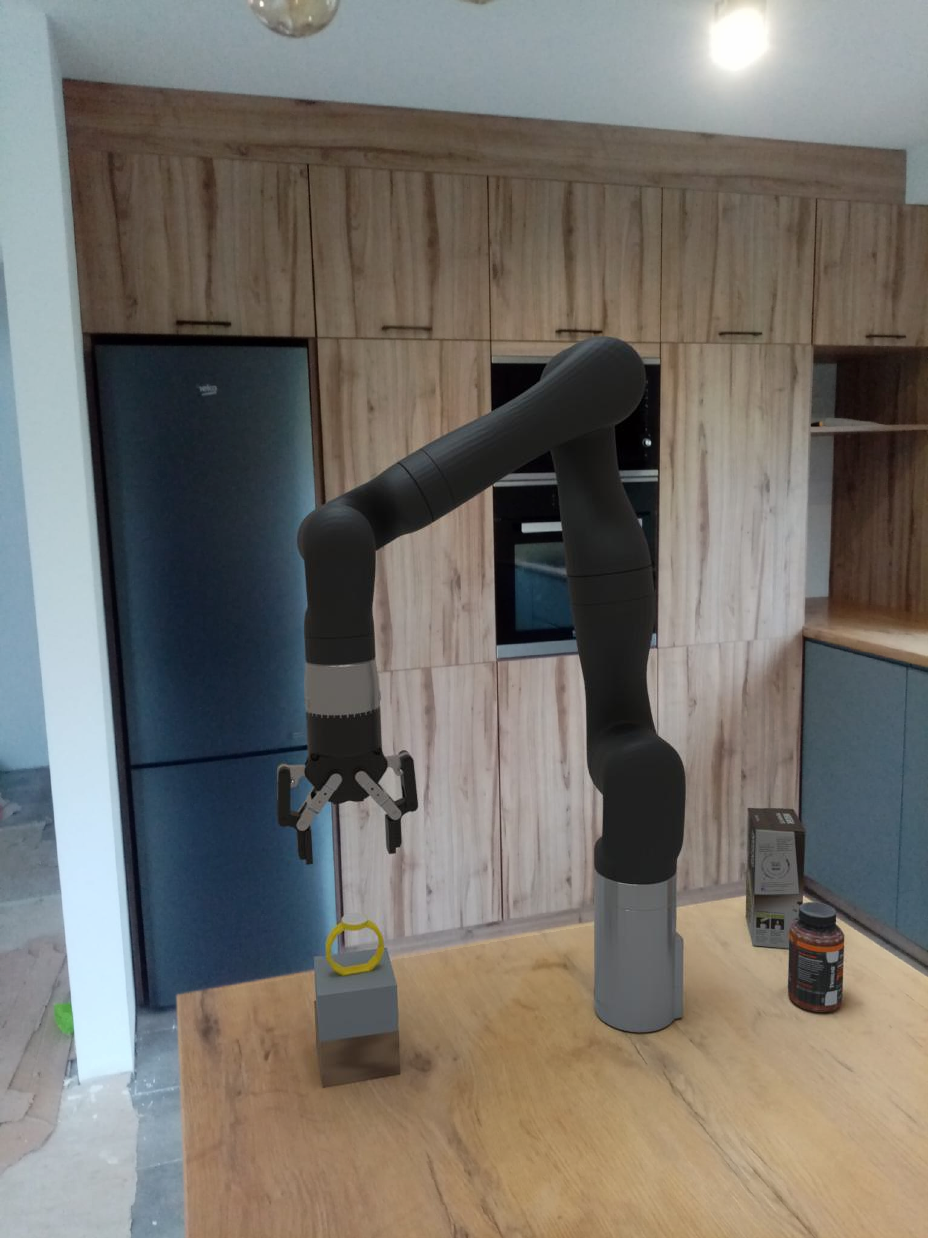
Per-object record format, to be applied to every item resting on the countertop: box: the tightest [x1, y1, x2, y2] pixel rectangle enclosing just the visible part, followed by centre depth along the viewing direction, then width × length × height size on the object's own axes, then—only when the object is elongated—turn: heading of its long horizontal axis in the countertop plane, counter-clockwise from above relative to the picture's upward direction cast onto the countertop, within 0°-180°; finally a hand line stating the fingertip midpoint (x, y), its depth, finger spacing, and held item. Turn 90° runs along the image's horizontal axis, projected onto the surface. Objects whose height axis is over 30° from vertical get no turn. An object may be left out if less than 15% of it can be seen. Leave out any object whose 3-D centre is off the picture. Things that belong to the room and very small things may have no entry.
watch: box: [325, 912, 385, 976], centre depth 93 cm, size 6×3×6 cm, turn 106°
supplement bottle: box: [787, 901, 845, 1013], centre depth 103 cm, size 6×6×11 cm
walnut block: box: [313, 1000, 401, 1089], centre depth 94 cm, size 8×8×5 cm
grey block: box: [313, 947, 400, 1042], centre depth 94 cm, size 8×8×5 cm
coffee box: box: [745, 807, 807, 950], centre depth 119 cm, size 9×6×16 cm
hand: (350, 856), depth 92 cm, fingers open, 8 cm apart
